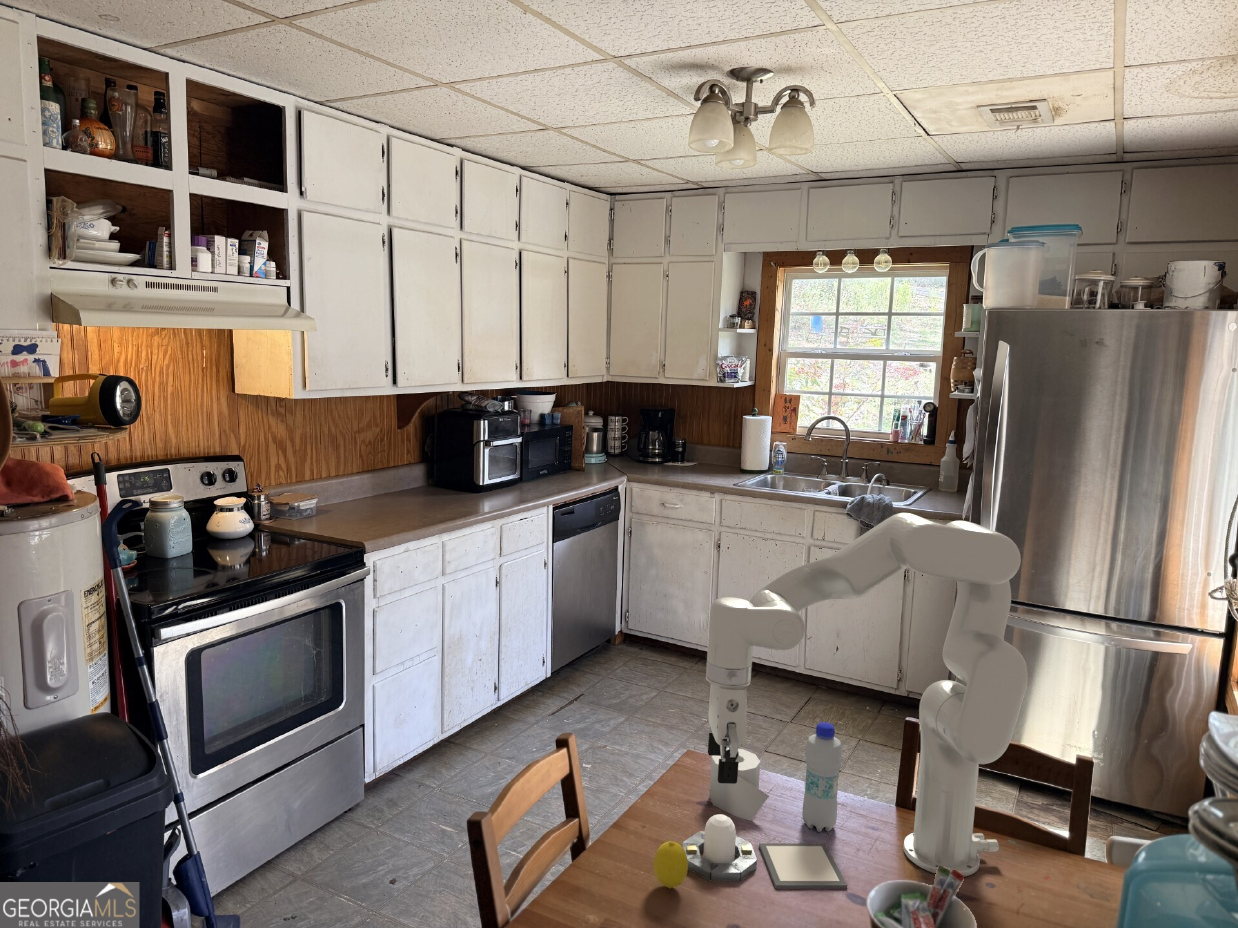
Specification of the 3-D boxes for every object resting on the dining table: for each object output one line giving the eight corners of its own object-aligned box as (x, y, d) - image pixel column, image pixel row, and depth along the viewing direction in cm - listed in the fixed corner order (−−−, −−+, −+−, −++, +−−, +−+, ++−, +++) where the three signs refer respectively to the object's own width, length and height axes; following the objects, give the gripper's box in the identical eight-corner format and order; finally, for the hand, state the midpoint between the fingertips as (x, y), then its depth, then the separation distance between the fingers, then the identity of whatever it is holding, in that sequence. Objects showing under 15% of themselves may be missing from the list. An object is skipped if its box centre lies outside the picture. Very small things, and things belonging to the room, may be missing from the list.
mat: (824, 846, 147) (825, 842, 147) (847, 888, 136) (847, 884, 135) (759, 846, 147) (759, 842, 147) (775, 888, 135) (775, 884, 135)
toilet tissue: (755, 826, 153) (758, 782, 152) (700, 798, 163) (702, 757, 162) (782, 809, 160) (785, 767, 159) (728, 783, 169) (730, 743, 168)
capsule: (738, 867, 140) (741, 823, 139) (708, 870, 139) (711, 825, 138) (728, 849, 145) (730, 806, 145) (699, 852, 144) (701, 809, 143)
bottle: (838, 837, 151) (845, 733, 148) (800, 831, 152) (807, 728, 150) (836, 818, 157) (843, 718, 155) (800, 813, 158) (806, 713, 156)
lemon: (676, 902, 130) (679, 855, 129) (646, 889, 133) (648, 843, 132) (692, 884, 135) (694, 839, 134) (663, 873, 138) (665, 828, 137)
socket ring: (746, 839, 149) (746, 828, 148) (761, 881, 137) (762, 868, 136) (679, 839, 148) (679, 827, 148) (688, 881, 136) (689, 868, 136)
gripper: (762, 692, 130) (754, 794, 132) (740, 654, 147) (733, 745, 149) (715, 691, 130) (708, 793, 132) (698, 653, 147) (692, 744, 149)
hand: (721, 768), depth 140 cm, fingers open, 9 cm apart
